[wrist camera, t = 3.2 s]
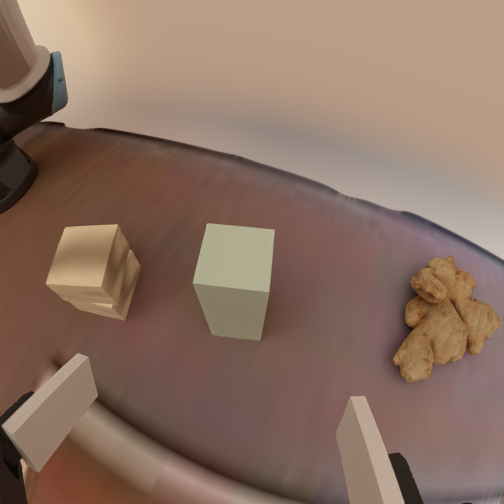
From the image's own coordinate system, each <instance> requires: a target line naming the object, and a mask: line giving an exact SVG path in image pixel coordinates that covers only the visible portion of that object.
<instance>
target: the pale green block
mask: <svg viewBox="0 0 504 504" xmlns="http://www.w3.org/2000/svg"><path fill="white" fill-rule="evenodd" d="M274 232H275V230H272V229H262V228H252V227H242V226H231V225H220V224H209V223H207V227H206V230H205V234H204V238H203V242H202V246H201V250H200V254H199V259H198V263H197V267H196V271H195V275H194V280H193V285H194V288H195V291H196V294H197V296H198V299H199V302H200V305H201V307H202V310H203V313H204V315H205V318H206V320H207V323H208V326H209V328H210V331H211V333H212V335H215V336H223V337H231V338H239V339H247V340H257V341H261V335H262V330H263V325H264V319H265V314H266V308H267V303H268V297H269V291H270V280H271V268H272V257H273V244H274Z"/></svg>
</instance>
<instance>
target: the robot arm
mask: <svg viewBox="0 0 504 504" xmlns="http://www.w3.org/2000/svg"><path fill="white" fill-rule="evenodd" d="M67 102H68V95H67V88H66V82H65V76H64V70H63V64H62V58H61V54H60V52H58V51H57V52H52V53H51V54H50V53H49V51H48V50H47V49H46V48H45V47H43V46H39V45H35V43H34V41H33V39H32V36H31V34H30V32H29V30H28V28H27V25H26V23H25V20H24V18H23V15H22V13H21V10H20V8H19V5H18V2H17V0H0V213H2V212H4V211H5V210H7V209H8V208H10V207H11V206H12V205H13V204H15V203H16V202H17V201H18V200H19V199H20V198H21V197H22V196H23V194H24V193H25V192H26V191H27V189H28V188H29V187H30V185H31V184H32V182H33V180H34V178H35V176H36V173H37V167H36V165H35V163H34V161H33V159H32V158H31V157H30V156H29V155H28V154H27V153H25V152H24V151H23V150H22V149H21V148H20V147H19V146H17V145H16V143H15V142H14V140H13V137H14V136H16V135H17V134H19V133H20V132H22V131H24V130H26V129H27V128H29V127H31V126H33V125H34V124H36V123H38V122H40V121H42V120H43V119H45V118H47V117H49V116H52V115H53V114H54V113H55V112H57V111H59V110H61V109H62V108H64V107H65V106H66V104H67ZM97 396H98V394H97V390H96V387H95V383H94V379H93V375H92V370H91V366H90V362H89V357H87V356H84V355H81V354H78V353H77V354H76V355H75V356H74V357H73V358H72V359H71V360H70V361H68V362H67V363H66V364H65V365H64V366H63V367H62V368H61V369H60V370H59V371H58V372H57V373H55V374H54V375H53V376H52V377H51V378H50V379H49V380H48V381H47V382H46V383H45V384H44V385H43V386H42V387H41V388H40V389H38V390H37V391H36V392H35V393H34V392H33V391H31V392H29V393H26V394H24V395H23V396H22V397H21V398H20V399H18V400H17V402H15V403H14V404H13V406H11V407H10V408H9V409H8V410H7V411H6V412H5V413H4V414H3V415H2V416H1V417H0V504H28V503H27V498H26V492H25V486H24V480H23V473H22V465H21V462H20V460H21V458H23V460H24V461H25V462H26V464H27V465H28V466H30V467H31V468H32V469H34V470H36V471H37V472H40V471H41V469H42V468H43V466H44V465H45V464H46V462H47V461H48V460H49V458H50V457H51V456H52V454H53V453H54V452H55V450H56V449H57V448H58V446H59V445H60V444H61V442H62V441H63V440H64V439H65V437H66V436H67V435H68V433H69V432H70V431H71V429H72V428H73V427H74V426H75V424H76V423H77V422H78V420H79V419H80V418H81V417H82V415H83V414H84V413H85V411H86V410H87V409H88V408H89V406H90V405H91V404H92V403H93V401H94V400H95V399H96V398H97ZM336 438H337V442H338V447H339V452H340V456H341V461H342V466H343V471H344V476H345V480H346V486H347V491H348V496H349V501H350V504H424V503H423V501H422V499H421V496H420V493H419V491H418V488H417V486H416V483H415V480H414V478H413V477H412V476H413V475H412V473H411V471H410V468H409V465H408V463H407V461H406V459H405V458H404V457H403V456H402V455H401V454H400V453H393V454H387V451H386V449H385V446H384V443H383V441H382V438H381V436H380V433H379V430H378V428H377V425H376V423H375V420H374V418H373V415H372V412H371V410H370V407H369V405H368V403H367V400H366V398H365V396H350V398H349V401H348V404H347V406H346V409H345V412H344V414H343V417H342V419H341V421H340V424H339V426H338V429H337V431H336ZM462 504H472V503H462Z"/></svg>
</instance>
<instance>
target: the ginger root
mask: <svg viewBox="0 0 504 504" xmlns="http://www.w3.org/2000/svg"><path fill="white" fill-rule="evenodd" d="M410 283H411V285H412V288H413V289H414V290H415V291H416V292H417V293H418V296H416V297H415V298H413V299H412V300H410V301H409V302H408V303H407V304H406V307H405V321H406V323H407V325H408V326H410V327H412V328H414V329H413V330H412V331H411V333H410V334H409V335H408V337H407V338H406V339H405V340H404V341H403V344H402V345H401V346H400V348H399V350H398V351H397V352H396V354H395V355H394V357H393V359H392V362H393V363H394V365H399V366H400V372H401V375H402V377H404V378H405V379H406V381H407V382H416V381H418V380H422V379H428V378H429V377H430V374H431V371H432V363H433V364H434V365H440V364H441V365H445V363H446V362H448V361H450V362H452V363H455V362H456V361H457V360H459V359H461V358H462V357H463V355H464V353H465V352H466V350H468V352H469V353H470V354H471V355H472V356H474V355H477V354H478V353H479V352H480V351H481V349H482V347H483V344H484V340H485V339H489V338H490V336H491V335H492V333H493V332H494V331H495V330H497V329H498V328H499V326H500V323H501V320H500V319H499V318H498V316H497V314H496V313H495V312H494V310H493V309H492V306H491V305H488V304H485V303H482V302H480V301H478V300H476V299H474V300H472V289H473V288H474V287H475V286H476V282H475V281H474V279H473V277H472V276H471V275H470V274H469V273H467V272H465V271H463V270H461V269H459V268H458V267H456V266H455V265H454V260H453V257H452V256H448V257H447V258H446V259H442V258H439V257H435V258H433V259H432V260H431V261H429V262H428V263H427V267H426V268H424V269H422V270H419V271H418V273H417V275H415V276H413V278H412V279H411V281H410Z"/></svg>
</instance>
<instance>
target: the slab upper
mask: <svg viewBox="0 0 504 504" xmlns="http://www.w3.org/2000/svg"><path fill="white" fill-rule="evenodd" d="M129 249H130V246H129V244H128V242H127V240H126V238H125V237H124V235H123V233H122V231H121V229H120V227H119V226H118V224H115V225H95V226H77V227H65V230H64V232H63V235H62V237H61V240H60V243H59V245H58V248H57V251H56V254H55V257H54V260H53V263H52V266H51V269H50V272H49V275H48V278H47V282H46V285H47V286H49V287H50V288H51V289H52V290H53V291H54V292H55V293H56V294H58V295H59V296H60V297H61V298H62V299H63V300H65V301H72V302H84V303H97V304H112V305H118V301H119V296H120V290H121V285H122V280H123V276H124V271H125V266H126V262H127V257H128V253H129Z"/></svg>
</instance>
